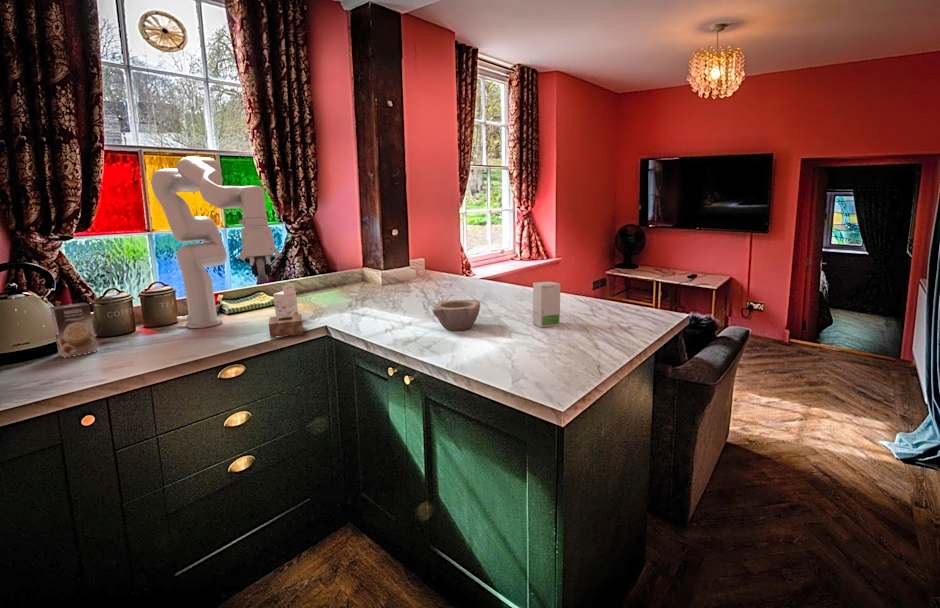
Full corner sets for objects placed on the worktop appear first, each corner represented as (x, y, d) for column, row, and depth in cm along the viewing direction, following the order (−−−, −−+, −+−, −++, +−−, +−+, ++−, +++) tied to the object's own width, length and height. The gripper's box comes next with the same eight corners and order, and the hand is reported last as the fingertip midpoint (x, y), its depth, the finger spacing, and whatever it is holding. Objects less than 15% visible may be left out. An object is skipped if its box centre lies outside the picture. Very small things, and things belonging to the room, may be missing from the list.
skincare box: (540, 328, 177) (540, 285, 173) (531, 324, 183) (531, 282, 179) (560, 325, 180) (561, 283, 176) (551, 321, 186) (551, 280, 182)
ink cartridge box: (287, 317, 203) (284, 282, 199) (298, 318, 202) (295, 282, 198) (275, 323, 194) (271, 286, 191) (287, 323, 193) (283, 286, 190)
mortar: (439, 321, 190) (438, 298, 188) (482, 321, 188) (482, 298, 186) (430, 334, 174) (429, 308, 172) (478, 334, 171) (477, 308, 169)
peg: (256, 283, 171) (253, 254, 169) (258, 281, 174) (254, 253, 172) (268, 282, 172) (264, 253, 170) (268, 280, 175) (265, 252, 173)
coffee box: (63, 359, 156) (53, 309, 152) (58, 355, 160) (48, 307, 156) (98, 351, 163) (89, 304, 159) (93, 348, 167) (83, 301, 163)
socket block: (270, 337, 174) (268, 324, 173) (271, 330, 184) (270, 317, 183) (303, 334, 177) (301, 320, 176) (302, 326, 187) (301, 314, 186)
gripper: (227, 224, 163) (235, 279, 167) (280, 222, 167) (287, 275, 171) (231, 223, 170) (238, 276, 174) (282, 221, 175) (288, 272, 178)
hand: (262, 275), depth 172 cm, fingers closed on peg, 3 cm apart
